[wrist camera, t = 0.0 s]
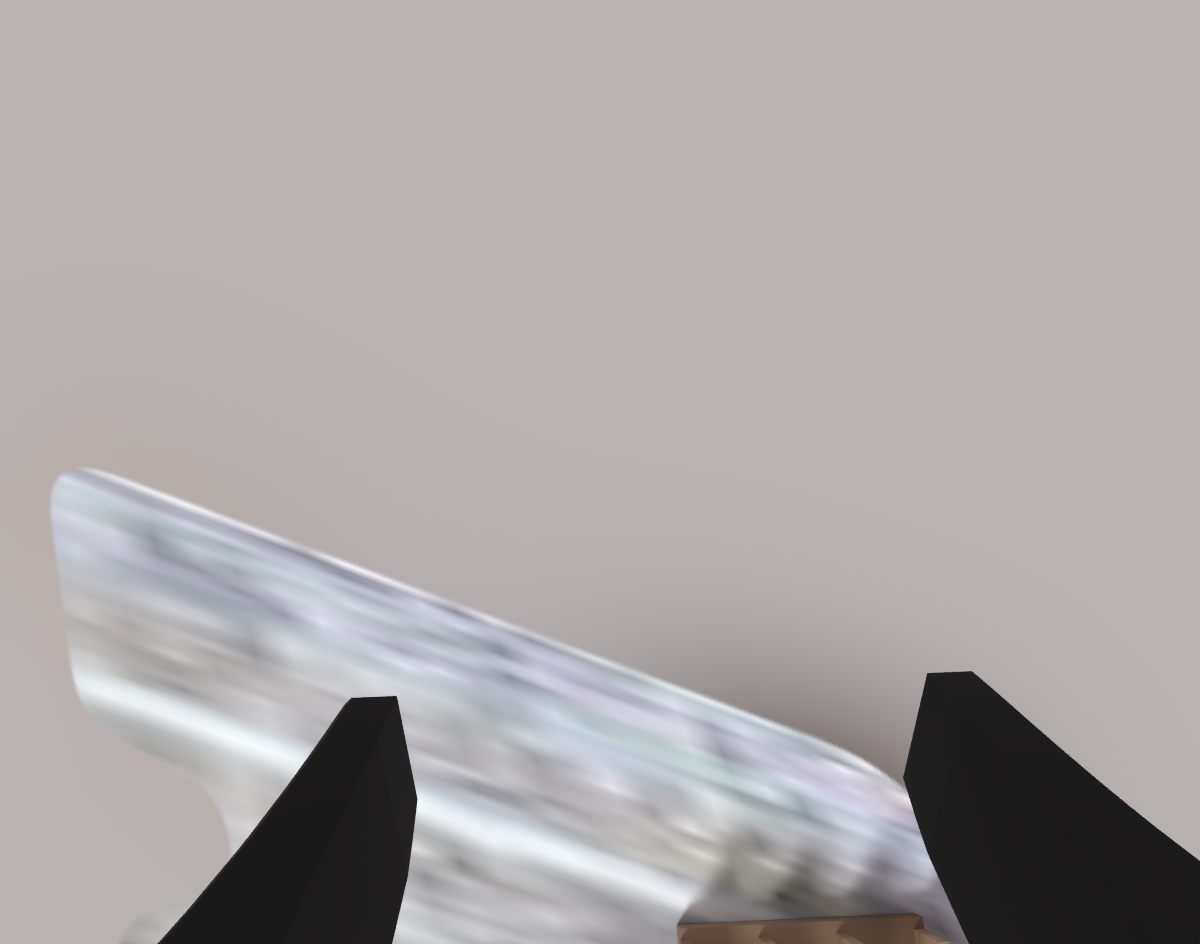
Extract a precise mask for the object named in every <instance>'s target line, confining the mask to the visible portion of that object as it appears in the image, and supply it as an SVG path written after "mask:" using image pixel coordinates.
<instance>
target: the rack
mask: <svg viewBox="0 0 1200 944" xmlns="http://www.w3.org/2000/svg"><path fill="white" fill-rule="evenodd" d="M677 933H678V944H951V943H950V941H948V940H946V939H944V938H942V937H940V936H938V935H936V934H934V933H932V932H930V931H928V930H926V929H924V926H923V920H922V916H919V915H917V914H915V913H904V914H884V915H863V916H843V917H822V918H802V919H781V920H761V921H740V922H720V923H699V924H679V925H677Z"/></svg>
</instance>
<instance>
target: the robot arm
mask: <svg viewBox="0 0 1200 944" xmlns="http://www.w3.org/2000/svg"><path fill="white" fill-rule="evenodd" d="M903 778H904V781H905V785H906V788H907V791H908V794H909V798H910V801H911V804H912V807H913V811H914V814H915V817H916V820H917V823H918V826H919V829H920V832H921V835H922V838H923V841H924V844H925V847H926V850H927V852H928V855H929V857H930V859H931V861H932V864H933V866H934V868H935V871H936V873H937V875H938V877H939V879H940V882H941V884H942V886H943V888H944V890H945V893H946V895H947V897H948V899H949V901H950V904H951V906H952V908H953V910H954V912H955V915H956V917H957V919H958V921H959V923H960V925H961V928H962V930H963V932H964V934H965V936H966V938H967V940H968V943H969V944H1200V861H1199V860H1198V859H1197V858H1195V857H1194V856H1193V855H1191V854H1190V853H1189V852H1187V851H1186V850H1185V849H1183V848H1182V847H1181V846H1179V845H1178V844H1177V843H1175V842H1174V841H1173V840H1172V839H1170V838H1169V837H1168V836H1167V835H1165V834H1164V833H1163V832H1161V831H1160V830H1159V829H1157V828H1156V827H1155V826H1154V825H1152V824H1151V823H1150V822H1149V821H1147V820H1146V819H1145V818H1144V817H1142V816H1141V815H1140V814H1139V813H1137V812H1136V811H1135V810H1134V809H1132V808H1131V807H1130V806H1128V805H1127V804H1126V803H1125V802H1124V801H1123V800H1121V799H1120V798H1119V797H1118V796H1116V795H1115V794H1114V793H1113V792H1112V791H1110V790H1109V789H1108V788H1107V787H1105V786H1104V785H1103V784H1102V783H1101V782H1100V781H1098V780H1097V779H1096V778H1095V777H1094V776H1092V775H1091V774H1090V773H1089V772H1088V771H1086V770H1085V769H1084V768H1083V767H1082V766H1081V765H1079V764H1078V763H1077V762H1076V761H1075V760H1074V759H1072V758H1071V757H1070V756H1069V755H1068V754H1066V753H1065V752H1064V751H1063V750H1062V749H1061V748H1059V747H1058V746H1057V745H1056V744H1055V743H1054V742H1053V741H1051V740H1050V739H1049V738H1048V737H1047V736H1046V735H1045V734H1043V733H1042V732H1041V731H1040V730H1039V729H1038V728H1036V727H1035V726H1034V725H1033V724H1032V723H1031V722H1030V721H1029V720H1027V719H1026V718H1025V717H1024V716H1023V715H1022V714H1020V712H1018V711H1017V710H1016V709H1015V708H1014V707H1013V706H1012V705H1010V704H1009V703H1008V702H1007V701H1006V700H1005V699H1004V698H1002V697H1001V696H1000V695H999V694H998V693H997V692H995V691H994V690H993V689H992V688H991V687H990V686H989V685H987V684H986V683H985V682H983V680H981V679H980V678H979V677H978V676H977V675H976V674H974V673H973V672H972V671H967V672H944V673H927V677H926V681H925V686H924V690H923V695H922V698H921V703H920V707H919V711H918V716H917V720H916V724H915V729H914V733H913V738H912V742H911V746H910V750H909V755H908V759H907V764H906V768H905V772H904V776H903ZM416 807H417V795H416V790H415V785H414V780H413V775H412V770H411V765H410V760H409V755H408V750H407V745H406V740H405V735H404V730H403V725H402V720H401V715H400V710H399V705H398V700H397V696H386V697H363V698H351V699H350V700H349V701H348V702H347V703H346V704H345V705H344V706H343V708H342V709H341V711H340V712H339V713H338V715H337V716H336V718H335V719H334V721H333V722H332V724H331V725H330V727H329V728H328V729H327V731H326V732H325V734H324V735H323V737H322V738H321V740H320V741H319V742H318V744H317V745H316V747H315V748H314V750H313V751H312V752H311V754H310V755H309V757H308V758H307V759H306V761H305V762H304V764H303V765H302V766H301V768H300V769H299V770H298V772H297V773H296V775H295V776H294V777H293V779H292V780H291V782H290V783H289V784H288V786H287V787H286V788H285V790H284V791H283V792H282V794H281V795H280V796H279V798H278V799H277V800H276V801H275V803H274V804H273V805H272V807H271V808H270V809H269V811H268V812H267V813H266V815H265V816H264V817H263V818H262V820H261V821H260V822H259V824H258V825H257V826H256V828H255V829H254V830H253V832H252V833H251V834H250V835H249V837H248V838H247V839H246V841H245V842H244V843H243V844H242V846H241V847H240V848H239V849H238V851H237V852H236V853H235V854H234V855H233V857H232V858H231V859H230V860H229V861H228V863H227V864H226V865H225V866H224V867H223V869H222V870H221V871H220V872H219V873H218V875H217V876H216V877H215V878H214V879H213V880H212V882H211V883H210V884H209V885H208V886H207V888H206V889H205V890H204V891H203V892H202V894H201V895H200V896H199V897H198V898H197V900H196V901H195V902H194V903H193V904H192V906H191V907H190V908H189V909H188V910H187V911H186V913H185V914H184V915H183V916H182V917H181V918H180V919H179V920H178V922H177V923H176V924H175V925H174V926H173V927H172V928H171V929H170V931H169V932H168V933H167V934H166V935H165V936H164V937H163V938H162V939H161V940H160V942H159V943H158V944H392V941H393V937H394V933H395V929H396V924H397V920H398V916H399V912H400V908H401V903H402V899H403V895H404V890H405V886H406V882H407V877H408V870H409V863H410V856H411V848H412V841H413V832H414V824H415V816H416Z"/></svg>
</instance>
